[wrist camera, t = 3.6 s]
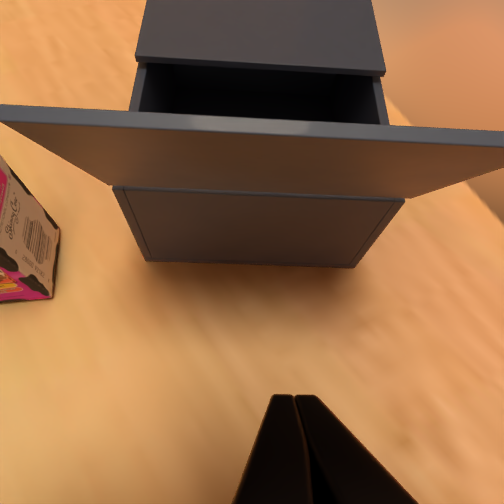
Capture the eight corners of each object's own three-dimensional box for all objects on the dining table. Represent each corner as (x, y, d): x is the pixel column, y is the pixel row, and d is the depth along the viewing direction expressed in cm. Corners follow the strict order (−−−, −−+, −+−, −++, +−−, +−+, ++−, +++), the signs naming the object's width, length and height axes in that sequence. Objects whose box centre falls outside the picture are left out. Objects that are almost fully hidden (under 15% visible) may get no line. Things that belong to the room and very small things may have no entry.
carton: (354, 268, 24) (413, 191, 16) (145, 261, 23) (106, 178, 16) (334, 97, 30) (369, -14, 23) (170, 87, 30) (152, -30, 22)
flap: (411, 189, 16) (411, 198, 16) (108, 175, 16) (108, 185, 16) (557, 133, 9) (557, 150, 9) (-2, 103, 8) (-3, 121, 8)
